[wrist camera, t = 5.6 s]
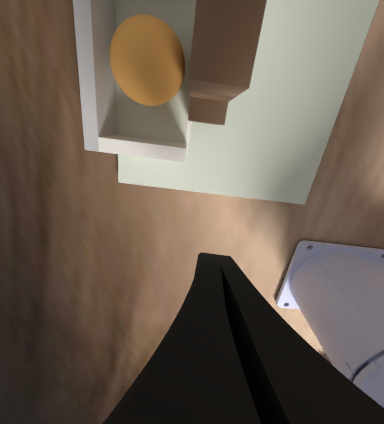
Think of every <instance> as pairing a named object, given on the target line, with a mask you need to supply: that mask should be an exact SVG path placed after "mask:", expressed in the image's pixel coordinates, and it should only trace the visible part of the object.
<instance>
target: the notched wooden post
mask: <svg viewBox="0 0 384 424" xmlns="http://www.w3.org/2000/svg"><path fill="white" fill-rule="evenodd" d="M266 2H267V0H196V8H195V18H194V29H193V39H192V49H191V59H190V69H189V79H188V80H189V89H190V105H189V115H188V121H192V122H199V123H207V124H214V125H225V119H226V113H227V107H228V102H229V101H231V100H232V99H234V98H235V97H237V96H238V95H240V94H241V93H243V92H244V91H246V90H247V89H249V86H250V82H251V77H252V72H253V67H254V62H255V57H256V52H257V47H258V42H259V37H260V32H261V27H262V22H263V17H264V12H265V7H266Z"/></svg>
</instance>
